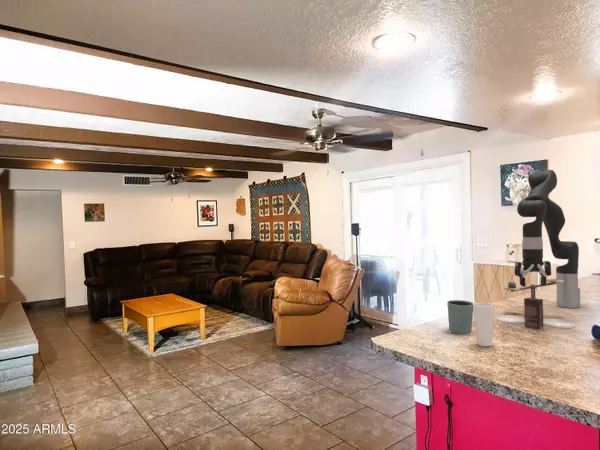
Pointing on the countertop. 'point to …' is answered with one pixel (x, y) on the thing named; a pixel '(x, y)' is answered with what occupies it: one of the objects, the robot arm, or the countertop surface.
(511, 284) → the balance
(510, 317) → the dish low side
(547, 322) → the dish high side
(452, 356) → the countertop surface
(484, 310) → the drinking glass
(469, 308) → the green cup
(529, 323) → the box
